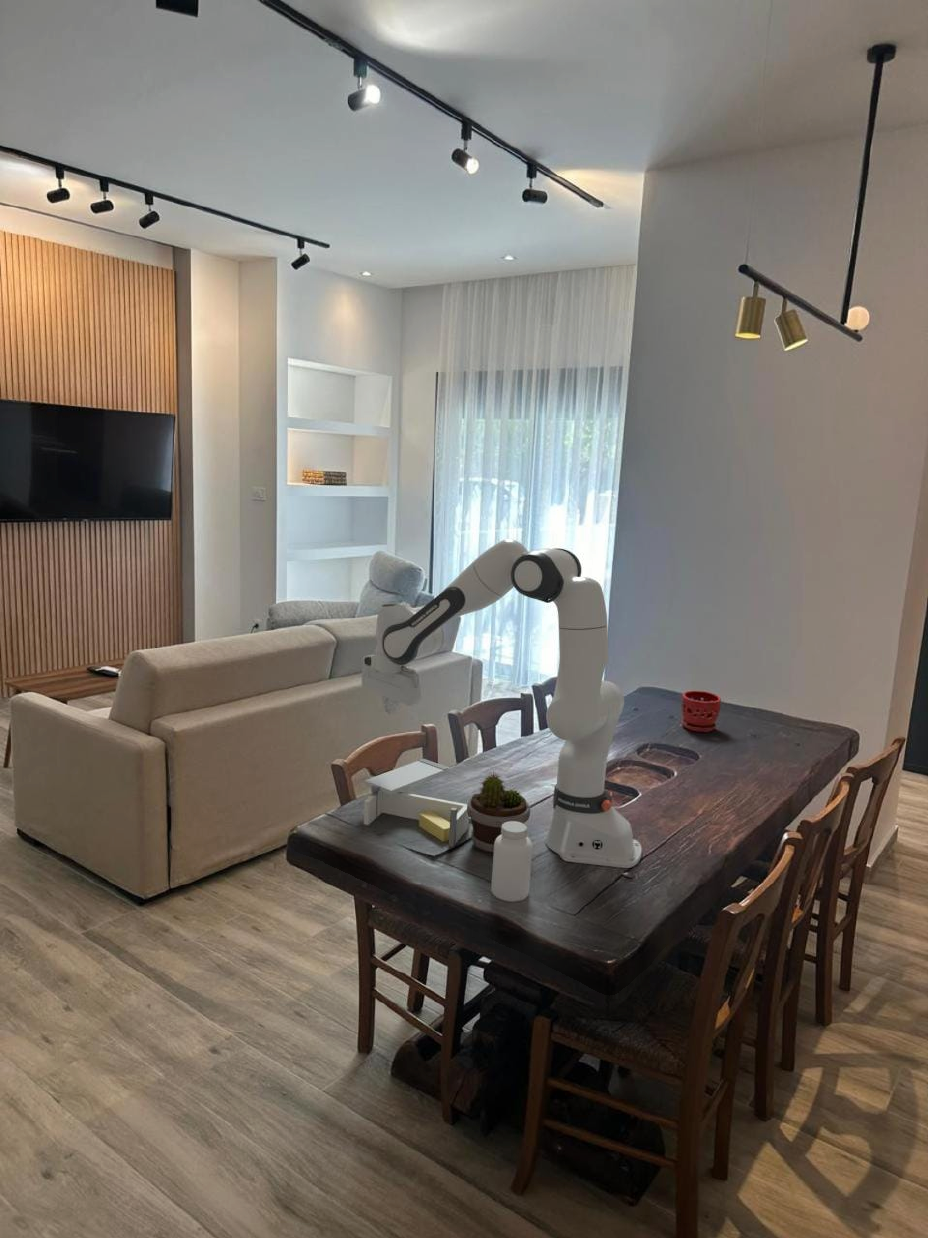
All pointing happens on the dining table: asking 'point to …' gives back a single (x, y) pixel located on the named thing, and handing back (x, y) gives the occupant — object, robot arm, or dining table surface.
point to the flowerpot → (494, 812)
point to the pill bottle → (512, 863)
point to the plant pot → (700, 710)
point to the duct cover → (406, 777)
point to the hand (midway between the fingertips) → (389, 713)
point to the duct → (418, 810)
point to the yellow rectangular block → (435, 825)
